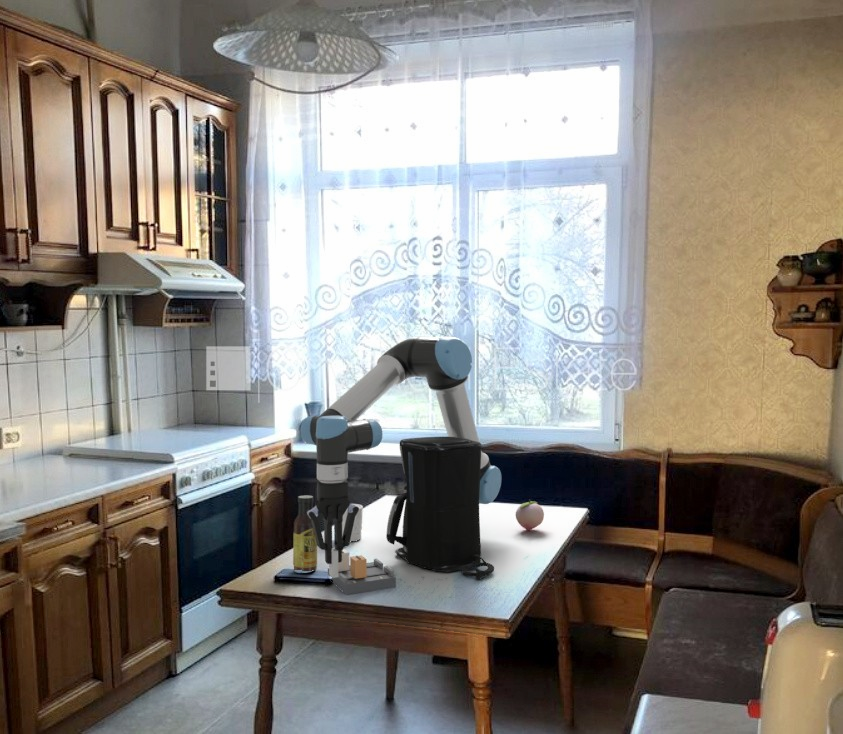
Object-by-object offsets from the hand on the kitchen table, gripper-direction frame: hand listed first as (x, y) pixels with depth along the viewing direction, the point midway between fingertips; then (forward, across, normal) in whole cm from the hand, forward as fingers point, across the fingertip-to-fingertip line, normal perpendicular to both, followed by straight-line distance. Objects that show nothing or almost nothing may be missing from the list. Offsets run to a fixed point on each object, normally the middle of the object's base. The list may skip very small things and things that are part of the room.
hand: (333, 575), depth 194 cm
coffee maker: (+4, +32, +10) cm, 34 cm away
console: (+4, +8, +4) cm, 10 cm away
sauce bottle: (+4, -2, +18) cm, 19 cm away
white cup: (+4, +19, +42) cm, 47 cm away
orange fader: (+1, +6, 0) cm, 6 cm away
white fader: (+1, +4, +7) cm, 8 cm away
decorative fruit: (+4, +73, +26) cm, 78 cm away
